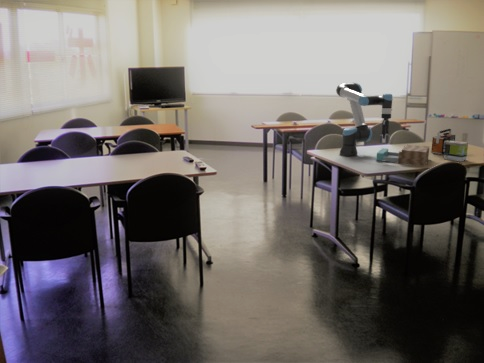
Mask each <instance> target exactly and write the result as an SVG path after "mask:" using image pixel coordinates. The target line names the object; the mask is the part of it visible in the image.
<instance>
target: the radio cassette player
mask: <svg viewBox="0 0 484 363" xmlns="http://www.w3.org/2000/svg"><path fill="white" fill-rule="evenodd" d="M448 141H456V134H452V128H447V129H444V130H439V131H437V134H436V135H435V136H433V137H432V140H431V152H430V153H431V154H437V155H441V154H442V155H444V152H445V143H446V142H448Z"/></svg>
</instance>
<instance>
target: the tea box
mask: <svg viewBox="0 0 484 363" xmlns="http://www.w3.org/2000/svg"><path fill="white" fill-rule="evenodd" d="M468 147H469V143H468V142H466V141H465V142H464V141H456V140H455V141H448V142H446V143H445V152H444V154H443V155H444V156H443V159H444V160H450V161H457V162H464V160H465V161H467V158H468V157H467V156H468Z"/></svg>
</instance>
